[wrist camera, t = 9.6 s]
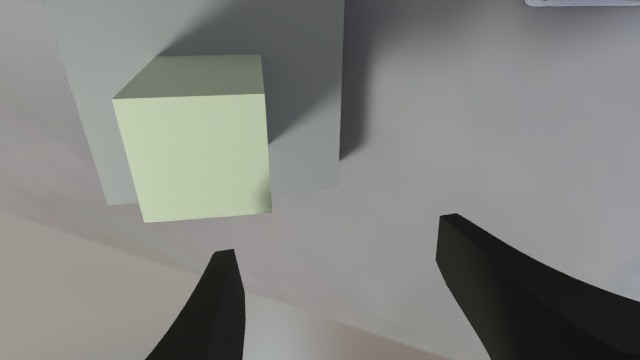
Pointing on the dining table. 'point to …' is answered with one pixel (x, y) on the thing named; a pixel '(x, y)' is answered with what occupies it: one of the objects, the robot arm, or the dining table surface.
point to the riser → (211, 39)
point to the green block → (197, 137)
